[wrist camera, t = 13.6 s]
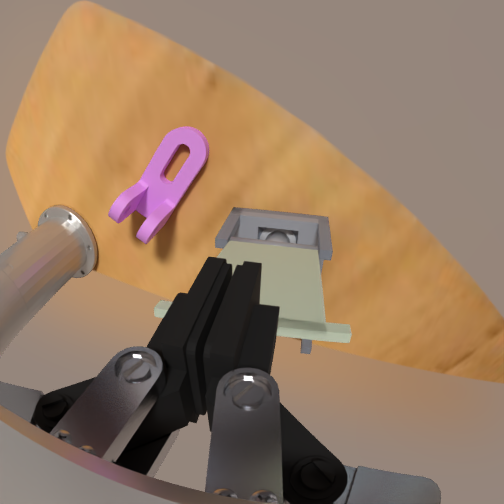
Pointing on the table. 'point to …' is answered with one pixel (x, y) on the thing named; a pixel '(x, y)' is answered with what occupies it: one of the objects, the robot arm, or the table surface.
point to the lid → (285, 287)
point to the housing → (279, 234)
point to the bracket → (162, 183)
